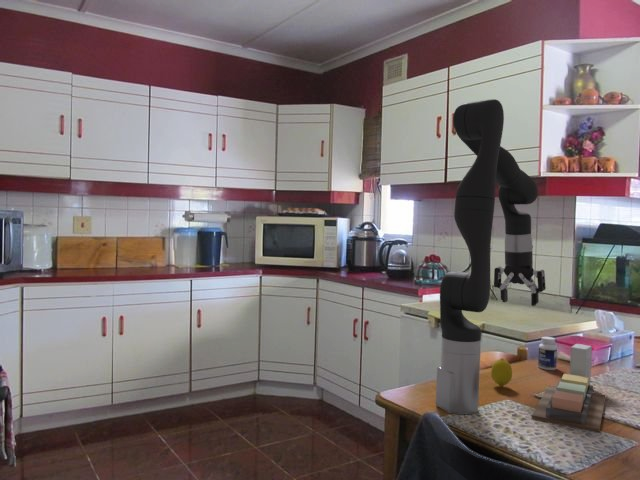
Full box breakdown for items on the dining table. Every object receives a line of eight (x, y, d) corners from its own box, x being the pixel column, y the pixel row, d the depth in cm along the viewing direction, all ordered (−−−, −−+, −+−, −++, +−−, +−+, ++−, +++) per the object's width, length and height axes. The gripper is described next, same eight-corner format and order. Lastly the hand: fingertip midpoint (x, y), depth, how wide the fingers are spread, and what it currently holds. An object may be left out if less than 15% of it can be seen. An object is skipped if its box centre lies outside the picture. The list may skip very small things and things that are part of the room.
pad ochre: (586, 394, 136) (586, 382, 135) (560, 390, 139) (561, 378, 138) (588, 388, 141) (588, 377, 141) (563, 384, 144) (563, 373, 144)
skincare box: (574, 384, 152) (575, 343, 152) (590, 387, 149) (592, 345, 149) (568, 389, 147) (570, 346, 147) (585, 392, 145) (587, 349, 144)
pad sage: (583, 404, 128) (584, 391, 128) (556, 399, 131) (557, 387, 131) (585, 397, 133) (586, 385, 133) (559, 393, 136) (559, 381, 136)
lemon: (507, 391, 144) (509, 362, 144) (487, 386, 147) (488, 358, 147) (514, 386, 148) (515, 358, 148) (494, 382, 152) (495, 354, 151)
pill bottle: (535, 368, 169) (537, 337, 169) (540, 364, 173) (541, 335, 173) (553, 371, 166) (555, 340, 165) (558, 368, 170) (559, 337, 170)
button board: (599, 432, 116) (599, 418, 116) (531, 418, 123) (532, 405, 123) (605, 398, 140) (605, 386, 140) (548, 388, 148) (548, 377, 147)
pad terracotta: (580, 415, 120) (581, 402, 120) (551, 409, 123) (552, 397, 123) (582, 407, 125) (583, 395, 125) (555, 402, 128) (555, 390, 128)
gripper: (489, 249, 155) (490, 303, 157) (538, 252, 146) (539, 309, 148) (499, 245, 161) (501, 298, 163) (548, 248, 151) (548, 303, 153)
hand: (519, 303), depth 155 cm, fingers open, 8 cm apart
